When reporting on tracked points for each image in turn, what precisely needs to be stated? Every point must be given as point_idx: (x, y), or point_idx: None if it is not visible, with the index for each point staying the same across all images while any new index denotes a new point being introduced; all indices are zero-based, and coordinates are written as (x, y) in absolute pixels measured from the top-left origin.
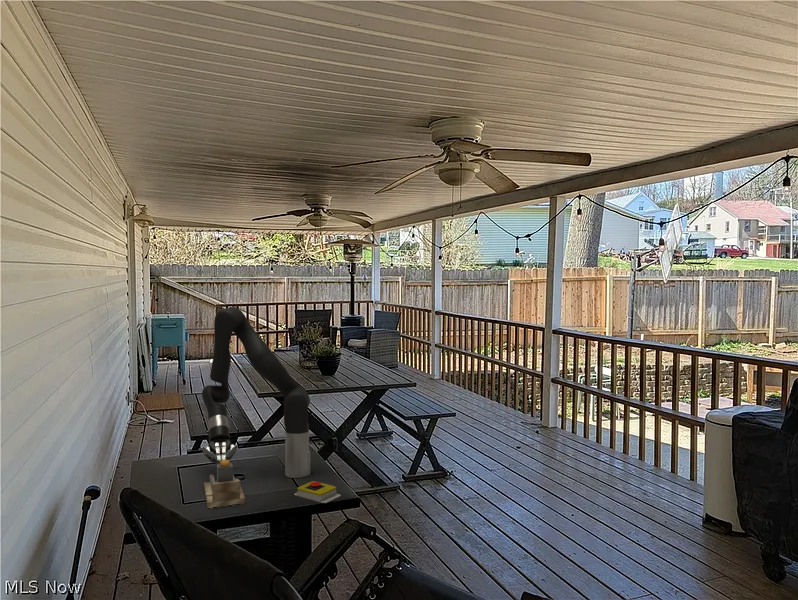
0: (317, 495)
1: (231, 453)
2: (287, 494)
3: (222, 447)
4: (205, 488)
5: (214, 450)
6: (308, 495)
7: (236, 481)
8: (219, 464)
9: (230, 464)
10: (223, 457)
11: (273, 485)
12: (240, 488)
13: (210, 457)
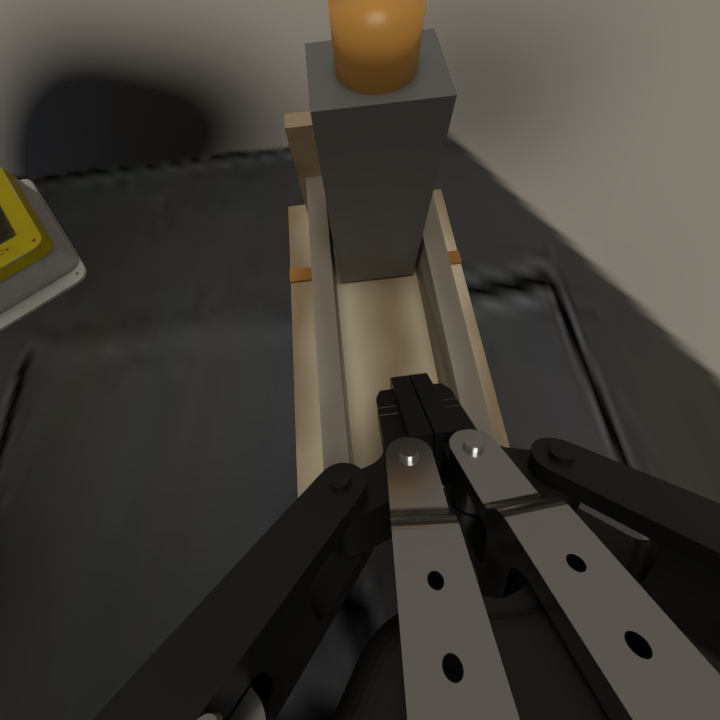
0: (14, 178)
1: (285, 535)
2: (111, 282)
3: (510, 714)
4: (486, 365)
5: (687, 640)
6: (42, 214)
7: (306, 114)
8: (431, 97)
9: (325, 84)
10: (415, 464)
11: (126, 415)
12: (296, 320)
13: (622, 474)
